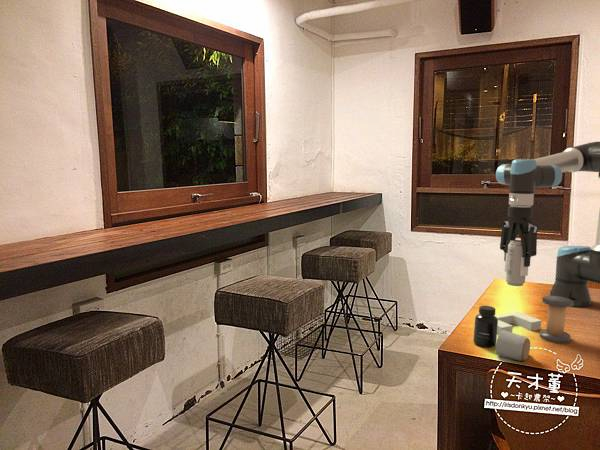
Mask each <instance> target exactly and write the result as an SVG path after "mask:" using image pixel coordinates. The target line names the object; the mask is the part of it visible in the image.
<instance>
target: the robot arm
mask: <svg viewBox="0 0 600 450" xmlns="http://www.w3.org/2000/svg"><path fill="white" fill-rule="evenodd" d="M567 172H568V173H577V172H590V173H598V176H597V177H598V179H600V141H592V142H591V141H590V142H587V143H583V144H579V145H576V146H573V147H572V146H571V147H568V148H565V150H563V151H562V152H558V153H555V154H550V155H546V156H542V157H537V158H533V159H517V158H516V159H513V160H512V162H511V163H506V164H505V163H503V164H500V165H499V166H498V167H497V169H496V171H495V180H496V181H497V182H498V183H499V184H500V185H505V186H509V194H508V205H509V206H508V207H507V208H508V209H507V217H509V218H508V220H507V221H502V222H501V223H500V224H501V235H500V243H499V249H500V251H503V252H504V253H503V254H504V256H503V257H504V258H503V261H504V272H505V273H506V269H507V254H508V245H509V243H510V240H517V236H518V237H519V238H520V240H521V244H522V250H523V256H522V257H521V268H520V276H525V277H526V276H529V267H530V266H531V258H532V257H535V256H537V251H538V250H537V246H538V245H537V243H538V241H537V240H538V231H539V230H540V229H539V226H538V225H536V226H535V225H533V224H532V221H531V219H532V218H533V212H534V208H533V206H534V197H535V188H547V189H548V188H549V189H550V188H554V187H557V186H559V185H560V184H561V182H562V180H563V173H567ZM598 209H599V210H598V220H597V229H596V231H597V232H596V238H595V244H594V245H593V246H592V247H591V246H588V245H564V246H560V247H559V248H558V249H557V253H556V254H557V255H556V263H555V264H556V267H555V279H554V284H553V285H552V288H551V290H550V291H549V295H548V296H559V297H564V298H568V299H571V300H572V301H573V306H572V307H577V308H579V307H580V308H581V307H589V306H591V304H592V297H591V294H590V290H589V286H588V283H589V282H592V283H595V284H599V285H600V208H598Z"/></svg>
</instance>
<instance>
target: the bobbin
mask: <svg viewBox="0 0 600 450" xmlns="http://www.w3.org/2000/svg"><path fill="white" fill-rule="evenodd" d="M541 302H542V303H543V304H545V305H548V310H547V321H546V322H547V323H546V328H544V329H542V328H541V329H539V337H541V338H540V339H542V338H543V339H545V340H544V341H546V340H547V341H546V342H549V341H550V343H554V344H568V343H570V342H571V334H570V333H568V332H566V331H565V322H566V310H567V308H571V307H574V306H573V301H572V300H571V299H568V298H564V297H559V296H549V295H546V296H545V295H544V296H543V297H541ZM543 339H542V340H543Z"/></svg>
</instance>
